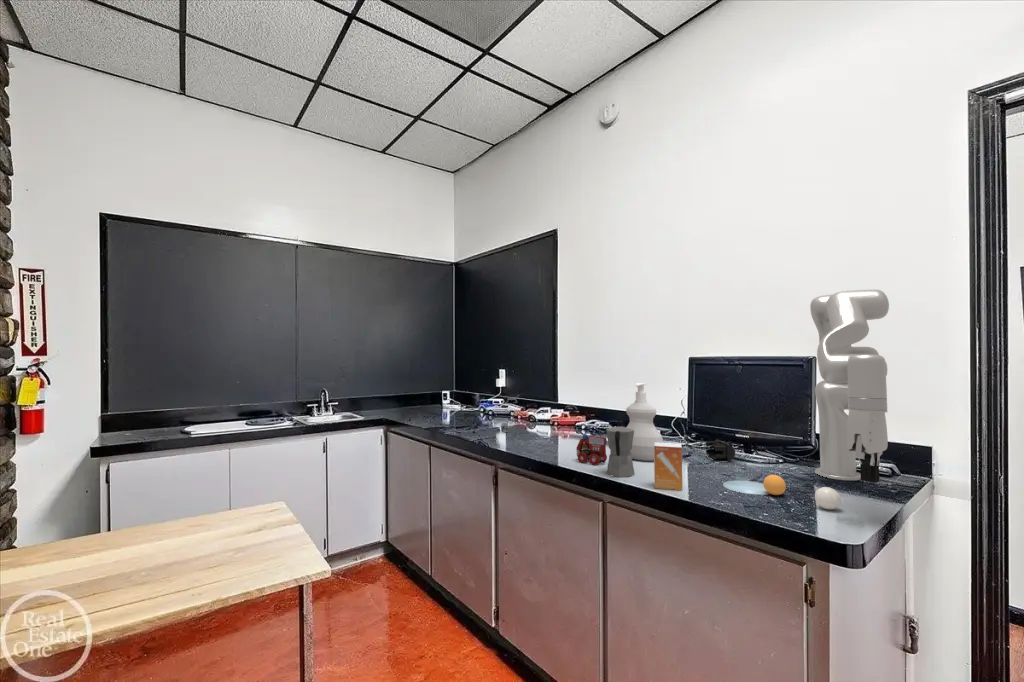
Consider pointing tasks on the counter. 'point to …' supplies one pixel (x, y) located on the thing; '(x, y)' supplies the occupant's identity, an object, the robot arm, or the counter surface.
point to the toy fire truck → (592, 449)
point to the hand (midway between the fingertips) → (870, 481)
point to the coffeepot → (620, 451)
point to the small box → (668, 465)
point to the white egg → (827, 498)
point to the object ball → (774, 485)
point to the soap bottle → (642, 427)
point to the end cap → (720, 451)
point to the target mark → (746, 487)
